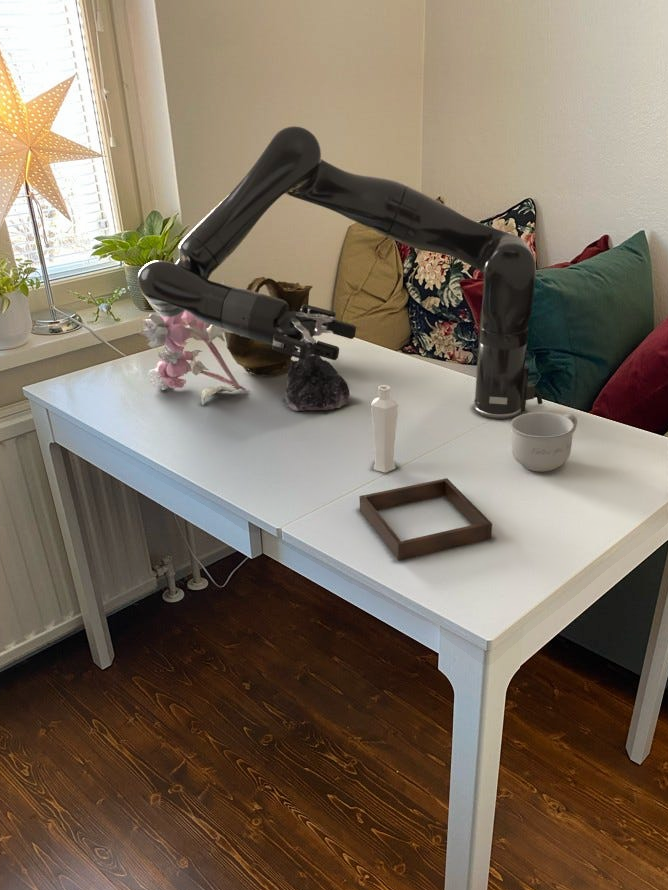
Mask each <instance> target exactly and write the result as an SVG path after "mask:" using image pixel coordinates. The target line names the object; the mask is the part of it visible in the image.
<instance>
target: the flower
mask: <svg viewBox="0 0 668 890" xmlns="http://www.w3.org/2000/svg"><path fill="white" fill-rule="evenodd" d="M221 284H225V279H224V278H222V283H221ZM142 321H143V322H145V324H144V323H142V326H143V328H144V329H141V332H140V331H138V330H136V333H137V334H141V337H142V336H144V337H146V338H148V339H145V340H144V341H145V343H147V344H146V346H148V347H150V348H152V349H158V348H159V346H164V349H163V351H162V352H160V351H159V352H158V357H159V358H160V359H161V360H159V361H158V362H157V364H156V367H155V368H154V369H150V370H148V374H147V375H148V376H150V378H151V381H150V383H151V384H152V388H155V387H156V386H161V390H162V391H164V390H166V389H168V388H173V387H174V388H178V389H181V388H183V387H184V386H185V385H186V383H187V379H184V378H181V377H183V376H185V375H187V374H188V373H189V372H191V373H192V374H193V375H194V376H198V375H199V374H203V375H204V376H207V377H210V378H212V379H215V380H217V381H219V382H222V383H224V384H227V385H220V386H214V387H213V386H212V387H206V388H204V389H202V390H201V395H200V401H201V406H204V405H205V401H206V398H208V397H210V396H212V395H214V394H215V393H216V394H217V393H218V394H219V393H223V392H229V393H232V392H233V391H238V390H239V391H244V392H245V391H246V390H247V388H246V387H244V386H241V385H240V384H239V382H238V381H237V380H236V378H235V377H234V376H233V373H232V372H231V370H230V368H229V367H228V365H227V363H226V361H225V360H224V358H223V357H222V355H221V354H220V352H219V350H218V348H217V346H216V345H215V344H214V342H213V341H214V339H216V338H219V339H220V340H221V341H222V342H226V339H225V338H224V336H223V333H224V332H226V333H233V332H231V331H228V330H226V329H223V328H220V327H216V326H213V325H209V324H206V323H204V322H201V321H200V320H198V319H196V318H195V317H194V316H193V315H192V314H191V313H189V312H188V311H186V310H185V311H184V312H183V313H181V314H179V315H177V316H173V317H165V316H162V315H160V314H158V313H157V312H155V313H149V315H148V318H143V319H142ZM183 323H184V324H183ZM240 336H241V335H240ZM190 339H193V340H195V341H202V342H204V343H205V344H206V345H207V347H208V349H209V350H210V352H211V353H212V355H213V356H214V358H215V359H216V361H217V362H218V364H219V366H220V367H221V368H222V370H223V371H224V372H225V374H226V376H227V377H228V378H229V379H228V378H226V377H224V376H222V375H220V374H218V373H214V372H210V371H209V368H207V367H206V366H205V365H204V363H203V362H202V361H200V360H196V357H198V356H199V354H200V353H202V352H203V350H200V349H195V350H192V351H190V350H184V349H185V346H187V345H188V344H189V342H187V341H188V340H190Z"/></svg>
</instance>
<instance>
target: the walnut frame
mask: <svg viewBox="0 0 668 890" xmlns="http://www.w3.org/2000/svg"><path fill="white" fill-rule="evenodd" d="M438 497H445V498H446V499H447V500H448V501H449V503H451V504H452V505H453V506H454V507H455V508H456V510H457V511H459V513H460V514H462V516H463V517H464V518H465V519H466V520H467V521H468V522H469V523H470V525H466V526H461V527H457V528H453V529H449V530H448V529H447V530H444V531H439V532H436V533H431V534H426V535H422V536H418V537H417V536H416V537H414V538H409V539H405V540H401V539H400V538H399V537H398V536H397V534H396V532H394V530H393V529H392V528H391V527H390V526H389V524H388V523H387V521H386V520H385V519H384V518H383V517H382V515H381V514H380V513H379V512H378V511H377V510H383V509H386V508H391V507H392V508H393V507H396V506H402V505H405V504H410V503H416V502H420V501H424V500H429V499H434V498H438ZM359 512H360V513H361V515H362V516H363V517H364V519H365V520H366V521H367V523H369V525H370V527H372V529H373V531H375V533H376V534H377V536H379V538H380V539H381V540H382V542H383V543H384V544H385V545H386V547H387V548H388V550H389V551H390V552H391V553H392V555H393V556H394V557H395V558H396V560H397V561H402V560H406V559H410V558H414V557H418V556H423V555H427V554H433V553H436V552H440V551H444V550H449V549H453V548H457V547H462V546H466V545H469V544H470V545H471V544H474V543H478V542H483V541H486V540H491V539H492V533H493V532H492V531H493V522H492V521H491V520H489V518H487V516H486V515H485V514H483V512H481V510H480V509H479V508H478V507H477V506H476V505H475V504H474V503H472V501H470V500H469V498H468V497H467V496H466V495H464V493H463V492H462V491H461V490H460V489H459V488H458V487H457V486H456V485H455V484H454V483H453V482H452V481H451V480H450V479H448V478H447V477H445V478H442V479H440V478H439V479H436V480H431V481H427V482H422V483H416V484H412V485H411V484H410V485H406V486H402V487H397V488H392V489H388V490H383V491H377V492H372V493H368V494H362V495H359Z"/></svg>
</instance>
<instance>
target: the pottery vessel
mask: <svg viewBox="0 0 668 890" xmlns="http://www.w3.org/2000/svg"><path fill="white" fill-rule="evenodd" d="M263 286H264V287H265V290H266V291H267V293H268V296H271V297H274V298H278V299H281V300H284V301H286V302H287V303H288V307H289V309H290V310H291V311H294V312H301V309H302V305H303V304H306V305H309V301H310V291H311V290H312V289H313V287H314V286H313V285H308V284H304V285H303V284H302V285H301V284H300V282H287V281H283V280H282V281H280V280H278V281H277V280H274V279H273V278H271V277H269V278H268V277H267V278H265V276H260V277H255V278H253V279H252V280H251V282H249V284H248V285H247V287H246V288H245V289H246V290H250V291H254V292H257V293H259V292H260V289H261V288H262V287H263ZM223 333H224V337H225V338H224V339H225V342H226V349H227V350H228V352H229V353H230V355H231V357H232V358H233V360H234V362H235V363H236V364H237V365H239V366H241V367H242V368H243V369H244V370H245V372H246V373H247V374H250V373H251V374H252V375H254V376H262V377H263V376H276V375H280V374H284V373H286V372H288V369H289V365H290V364H291V363H293V362H294V361H295V360H293V359H292V358H293V356H290V355H287V354H284V353H281V352H278V351H275V350H273V349H272V347H273V345H270V344H267V343H264V342H260V341H257V340H254V339H250V338H247V337H244V336H240V335H238V334H235V333H226V332H223ZM294 350H295V351H298V352H299V350H298V349H297V348H296V347H295V346H294Z"/></svg>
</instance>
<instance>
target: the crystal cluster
mask: <svg viewBox="0 0 668 890" xmlns="http://www.w3.org/2000/svg"><path fill="white" fill-rule="evenodd" d="M293 361H294V362H293V363H291V364H290V365H289V369H288V371H287V375H286V376H287V383H286V384H287V385H286V388H285V396H284V399H285V403H286V404H287V405H288V407H289V408H290V409H291V410H292V411H296V412H298V411H299V412H301V411H324V410H325V411H329V410H334V409H340V408H341V407H342V406H344V405H346V404H347V403H348V401H349V398H350V394H351V393H350V388H349V385H348V383H347V381H346V380H345V379H344V378H343V377H342V375H341V374H340V373H339V371H338V370H337V369H336V368H335V367H334V366H333V364H332V363H330V361H327V359H323V357H321V356H318V355H314V356H309V355H308V356H307V359H305V360H302V359H299V358H298V360H293Z"/></svg>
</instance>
